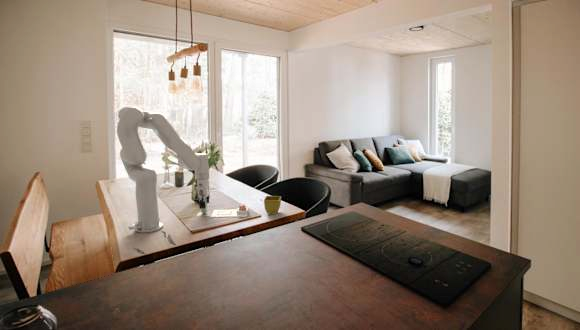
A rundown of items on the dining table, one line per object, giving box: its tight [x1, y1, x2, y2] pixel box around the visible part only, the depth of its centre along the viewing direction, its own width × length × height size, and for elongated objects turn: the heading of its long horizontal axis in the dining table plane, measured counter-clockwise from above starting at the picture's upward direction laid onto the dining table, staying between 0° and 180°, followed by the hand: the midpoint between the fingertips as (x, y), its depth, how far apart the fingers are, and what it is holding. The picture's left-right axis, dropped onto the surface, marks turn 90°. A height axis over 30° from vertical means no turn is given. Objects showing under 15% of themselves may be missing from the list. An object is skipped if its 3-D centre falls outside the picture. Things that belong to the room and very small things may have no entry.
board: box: [209, 206, 249, 218], centre depth 177 cm, size 20×12×3 cm, turn 93°
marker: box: [200, 197, 208, 215], centre depth 176 cm, size 4×4×11 cm
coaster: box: [196, 211, 212, 217], centre depth 177 cm, size 7×7×1 cm
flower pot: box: [263, 195, 282, 215], centre depth 178 cm, size 9×9×9 cm
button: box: [238, 204, 246, 210], centre depth 177 cm, size 3×3×3 cm
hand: (204, 205), depth 176 cm, fingers open, 9 cm apart
